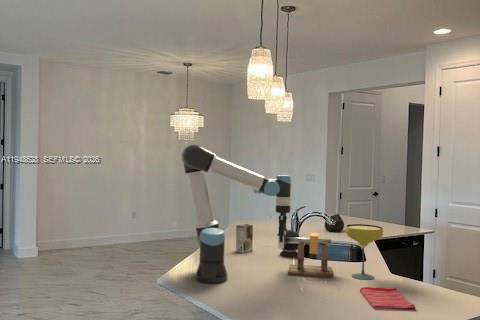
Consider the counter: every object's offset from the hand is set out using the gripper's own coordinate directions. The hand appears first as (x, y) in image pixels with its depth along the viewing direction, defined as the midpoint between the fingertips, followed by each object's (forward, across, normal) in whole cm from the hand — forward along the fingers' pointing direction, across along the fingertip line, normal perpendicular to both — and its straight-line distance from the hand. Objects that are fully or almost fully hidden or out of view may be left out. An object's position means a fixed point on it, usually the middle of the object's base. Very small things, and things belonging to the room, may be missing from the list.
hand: (282, 245), depth 231 cm
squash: (+13, +132, -32) cm, 136 cm away
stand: (+13, 0, -15) cm, 19 cm away
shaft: (-1, 0, -11) cm, 11 cm away
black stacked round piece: (+13, +37, -2) cm, 39 cm away
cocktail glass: (+13, -2, -41) cm, 43 cm away
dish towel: (+14, -37, -47) cm, 61 cm away
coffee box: (+13, +40, +26) cm, 50 cm away
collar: (+2, 0, -16) cm, 16 cm away
